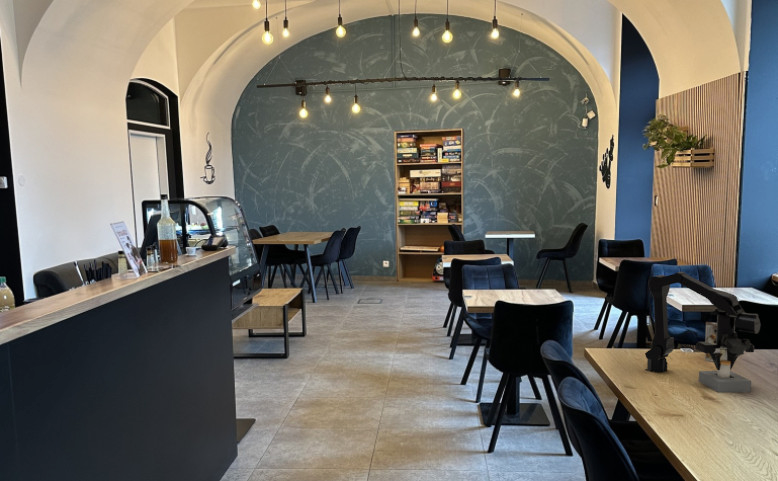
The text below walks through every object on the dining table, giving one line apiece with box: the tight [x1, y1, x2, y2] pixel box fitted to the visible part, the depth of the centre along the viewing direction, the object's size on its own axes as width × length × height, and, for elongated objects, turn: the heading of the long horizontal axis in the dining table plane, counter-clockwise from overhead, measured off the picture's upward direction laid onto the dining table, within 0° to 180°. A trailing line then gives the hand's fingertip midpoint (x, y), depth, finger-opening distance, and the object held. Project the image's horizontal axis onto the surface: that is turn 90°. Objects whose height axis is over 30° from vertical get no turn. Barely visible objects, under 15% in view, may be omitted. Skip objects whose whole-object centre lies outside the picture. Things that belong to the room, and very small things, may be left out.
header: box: [698, 370, 752, 394], centre depth 207 cm, size 12×12×5 cm
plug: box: [717, 359, 731, 378], centre depth 207 cm, size 4×4×8 cm
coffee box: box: [704, 321, 727, 363], centre depth 241 cm, size 9×6×16 cm
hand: (723, 369), depth 207 cm, fingers closed on plug, 4 cm apart
